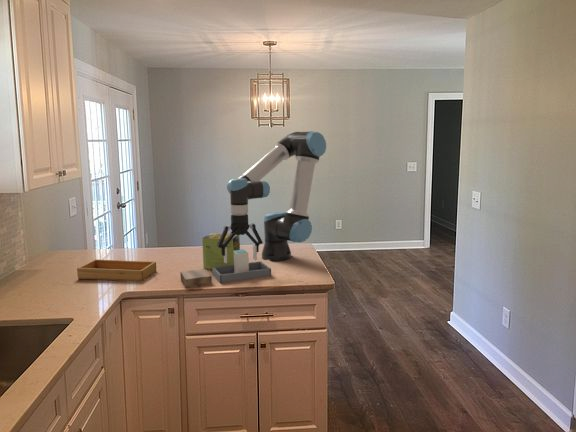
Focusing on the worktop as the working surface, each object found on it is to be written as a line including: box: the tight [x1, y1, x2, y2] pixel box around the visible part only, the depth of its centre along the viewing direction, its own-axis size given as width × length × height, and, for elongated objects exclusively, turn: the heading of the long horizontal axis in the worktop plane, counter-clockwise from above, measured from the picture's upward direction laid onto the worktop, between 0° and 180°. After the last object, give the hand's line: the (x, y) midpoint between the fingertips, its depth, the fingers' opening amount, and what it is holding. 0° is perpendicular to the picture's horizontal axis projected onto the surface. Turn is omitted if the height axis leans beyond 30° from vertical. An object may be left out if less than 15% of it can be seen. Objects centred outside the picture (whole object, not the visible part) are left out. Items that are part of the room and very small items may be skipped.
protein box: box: [201, 233, 241, 270], centre depth 231 cm, size 10×15×16 cm
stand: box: [180, 268, 213, 289], centre depth 209 cm, size 11×12×4 cm
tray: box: [76, 259, 157, 282], centre depth 222 cm, size 31×15×6 cm, turn 82°
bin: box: [211, 261, 272, 284], centre depth 216 cm, size 23×14×4 cm, turn 112°
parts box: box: [234, 249, 250, 273], centre depth 216 cm, size 5×6×11 cm
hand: (240, 261), depth 215 cm, fingers open, 13 cm apart
